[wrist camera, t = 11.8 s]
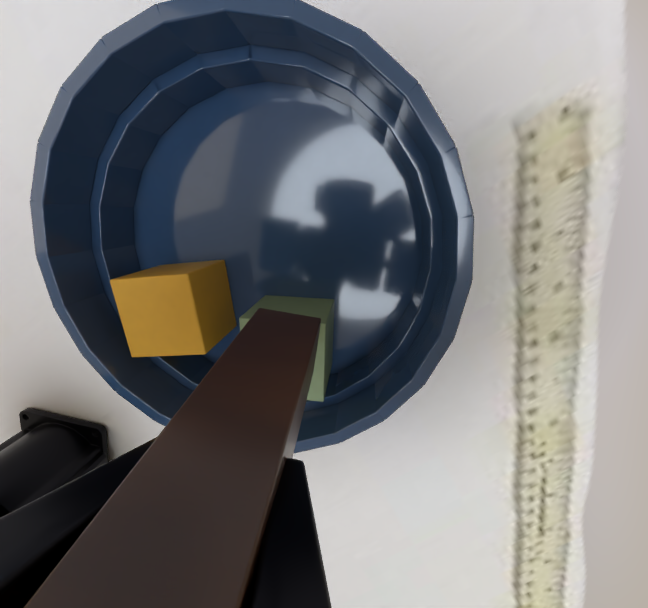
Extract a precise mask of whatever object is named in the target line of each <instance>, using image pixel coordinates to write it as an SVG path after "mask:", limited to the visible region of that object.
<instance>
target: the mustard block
mask: <svg viewBox="0 0 648 608" xmlns="http://www.w3.org/2000/svg"><path fill="white" fill-rule="evenodd" d="M110 284H111V287H112V291H113V294H114V298H115V301H116V305H117V308H118V312H119V315H120V318H121V322H122V325H123V329H124V332H125V336H126V339H127V343H128V346H129V350H130V353H131V356H132V357H154V356H178V355H203V354H206V353H207V352H209V351H210V350H211V349H212V348H213V347H214V346H215V345H216V344H217V343H218V342H219V341H221V340H222V339H223V338H224V337H225V336H226V335H227V334H228V333H229V332H230V331H231V330H233V329H234V328H235V327H236V325H237V324H236V319H235V314H234V308H233V303H232V298H231V292H230V287H229V282H228V276H227V271H226V266H225V261H224V260H213V261H202V262H190V263H179V264H167V265H159V266H156V267H152V268H149V269H145V270H142V271H138V272H135V273H132V274H128V275H125V276H121V277H118V278H114V279H111V280H110Z"/></svg>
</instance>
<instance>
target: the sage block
mask: <svg viewBox="0 0 648 608" xmlns="http://www.w3.org/2000/svg"><path fill="white" fill-rule="evenodd" d="M258 308H264V309H270V310H276V311H282V312H287V313H293V314H299V315H305V316H311V317H317V318H321V325H320V332H319V338H318V345H317V352H316V359H315V365H314V372H313V376H312V380H311V384H310V388H309V392H308V396H307V400H310V401H320V402H323V401H324V398H325V393H326V389H327V384H328V380H329V375H330V371H331V367H332V355H333V327H334V299H320V298H304V297H287V296H270V295H265V296H264V297H263V298H262V299H260V300H259V301H258V302H257V303H256V304H255V305H254V306H252V307H251V308H250V309H249V310H248V311H247V312H246V313H244V314H243V315H242V316H241V317H240V318H239V322H240V331H241V330H242V329H243V327H244V326H245V325H246V323H247V322H248V321H249V320H250V318H251V317H252V316H253V315H254V313H255V312H256V311H257V309H258Z"/></svg>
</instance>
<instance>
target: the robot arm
mask: <svg viewBox="0 0 648 608" xmlns="http://www.w3.org/2000/svg"><path fill="white" fill-rule="evenodd" d="M19 416H20V423H21V430H22V431H21V432H19V433H17V434H16V435H14V436H13V437H11V438H10V439H8V440H7V441H5V442H4V443H2V444H1V445H0V608H24V606H25V605H26V604H27V602H28V601H29V600H30V599H31V597H32V596H33V595H34V594H35V592H36V591H37V590H38V588H39V587H40V586H41V585H42V583H43V582H44V581H45V580H46V578H47V577H48V576H49V574H50V573H51V572H52V571H53V569H54V568H55V567H56V566H57V564H58V563H59V562H60V560H61V559H62V558H63V557H64V555H65V554H66V553H67V552H68V550H69V549H70V548H71V546H72V545H73V544H74V543H75V541H76V540H77V539H78V538H79V536H80V535H81V534H82V532H83V531H84V530H85V529H86V527H87V526H88V525H89V523H90V522H91V521H92V520H93V518H94V517H95V516H96V515H97V513H98V512H99V511H100V509H101V508H102V507H103V506H104V504H105V503H106V502H107V501H108V499H109V498H110V497H111V495H112V494H113V493H114V492H115V490H116V489H117V488H118V487H119V485H120V484H121V483H122V481H123V480H124V479H125V478H126V476H127V475H128V474H129V473H130V471H131V470H132V469H133V467H134V466H135V465H136V464H137V462H138V461H139V460H140V459H141V457H142V456H143V455H144V453H145V452H146V451H147V450H148V448H149V447H150V446H151V444H152V443H153V442H154V441H155V439H156V438H157V437H156V438H154V439H152V440H150V441H149V442H147V443H145V444H143V445H141V446H139V447H137V448H135V449H133V450H131V451H129V452H127V453H125V454H123V455H121V456H119V457H118V458H116V459H114V460H112V461H110V462H108V453H107V434H106V429H105V428H104V427H103V426H102V425H100V424H96V423H91V422H87V421H83V420H79V419H74V418H70V417H66V416H62V415H57V414H53V413H49V412H44V411H40V410H36V409H32V408H27V409H25V410H23V411H22V412H20V414H19ZM250 608H331V603H330V597H329V592H328V587H327V582H326V576H325V571H324V566H323V561H322V555H321V550H320V545H319V540H318V534H317V529H316V524H315V519H314V513H313V508H312V503H311V498H310V492H309V487H308V482H307V476H306V471H305V466H304V463H303V462H302V461H300V460H296V459H292V458H287V459H286V463H285V466H284V469H283V472H282V475H281V479H280V482H279V485H278V488H277V491H276V495H275V498H274V501H273V504H272V508H271V511H270V514H269V518H268V521H267V524H266V528H265V531H264V535H263V539H262V545H261V551H260V556H259V562H258V567H257V573H256V579H255V584H254V590H253V595H252V601H251V606H250Z"/></svg>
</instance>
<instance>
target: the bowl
mask: <svg viewBox="0 0 648 608" xmlns="http://www.w3.org/2000/svg"><path fill="white" fill-rule="evenodd" d="M38 142H39V143H38V144H37V151H36V159H35V166H34V174H33V182H32V189H31V197H30V199H31V200H30V206H31V215H32V224H33V233H34V243H35V252H36V256H37V261H38V264H39V266H40V269H41V272H42V275H43V278H44V281H45V284H46V287H47V290H48V293H49V296H50V298H51V301H52V304H53V307H54V308H55V311H56V312H57V314H58V316H59V317H60V319H61V321H62V322H63V324H64V326H65V328H66V329H67V331H68V333H69V334H70V336H71V338H72V339H73V341H74V343H75V344H76V346H77V348H78V349H79V351H80V353H82V355H83V356H84V358H85V359H86V360H87V361H88V362H89V363H90V364H91V365H92V366H93V368H94V369H95V370H96V371H97V372H98V373H99V374H100V375H101V376H102V377H103V379H104V380H105V381H106V382H107V383H108V384H109V385H110V386H111V387H112V388H113V390H114V391H116V392H117V393H118V394H119V395H120V396H122V397H123V398H124V399H126V400H127V401H129V402H130V403H131V404H133V405H134V406H135V407H137V408H138V409H139V410H141V411H142V412H143V413H145V414H146V415H147V416H149V417H150V418H151V419H153V420H154V421H156V422H158V423H160V424H162V425H164V426H166V425H167V424H168V423H169V422H170V420H171V419H172V418H173V416H174V415H175V414H176V413H177V411H178V410H179V409H180V408H181V406H182V405H183V404H184V402H185V401H186V400H187V399H188V397H189V396H190V395H191V394H192V392H193V391H194V390H195V388H196V387H197V386H198V385H199V383H200V382H201V381H202V380H203V378H204V377H205V376H206V374H207V373H208V372H209V371H210V369H211V368H212V367H213V366H214V364H215V363H216V362H217V360H218V359H219V358H220V357H221V355H222V354H223V353H224V351H225V350H226V349H227V348H228V346H229V345H230V344H231V343H232V341H233V340H234V339H235V337H236V336H237V335H238V334H239V332H240V322H239V318H240V317H241V316H242V315H243V314H244V313H246V312H247V311H248V310H249V309H250V308H251V307H252V306H254V305H255V304H256V303H257V302H258V301H259V300H260V299H262V298H263V297H264V296H265V295H270V296H287V297H304V298H320V299H334V327H333V355H332V367H331V371H330V375H329V380H328V384H327V389H326V393H325V398H324V401H323V402H320V401H310V400H306V404H305V408H304V413H303V417H302V421H301V425H300V429H299V433H298V437H297V441H296V445H295V449H294V453H298V452H302V451H307V450H311V449H316V448H320V447H325V446H329V445H333V444H338V443H340V442H343V441H345V440H347V439H349V438H351V437H353V436H355V435H357V434H359V433H361V432H363V431H365V430H367V429H369V428H371V427H373V426H375V425H377V424H379V423H381V422H383V421H384V420H386V419H387V418H388V417H389V416H390V415H391V414H392V413H394V412H395V411H396V410H397V409H398V408H399V407H400V406H401V405H403V404H404V403H405V402H406V401H407V400H408V399H409V398H410V397H412V396H413V395H414V394H415V393H416V392H417V391H418V390H419V389H420V388H422V387H423V385H425V383H426V382H427V380H428V378H429V377H430V375H431V374H432V372H433V371H434V369H435V368H436V366H437V365H438V363H439V361H440V360H441V358H442V357H443V355H444V354H445V352H446V351H447V349H448V348H449V346H450V344H451V343H452V341H453V340H454V339H453V338H455V335H456V332H457V328H458V325H459V322H460V319H461V315H462V312H463V309H464V306H465V303H466V299H467V296H468V293H469V290H470V286H471V283H472V272H473V235H474V216H473V210H472V206H471V202H470V198H469V194H468V190H467V186H466V182H465V178H464V174H463V171H462V167H461V163H460V159H459V155H458V151H457V148H455V147H456V146H455V143H454V142H453V140H452V138H451V136H450V135H449V133H448V131H447V130H446V128H445V126H444V124H443V123H442V121H441V119H440V118H439V116H438V114H437V112H436V111H435V109H434V107H433V106H432V104H431V102H430V101H429V99H428V97H427V95H426V94H425V92H424V90H423V89H422V87H421V85H420V84H418V81H417V80H416V79H415V78H414V77H413V76H412V75H411V74H409V73H408V72H407V71H406V70H405V69H404V68H403V67H402V66H401V65H400V64H399V63H398V62H397V61H396V60H395V59H393V58H392V57H391V56H390V55H389V54H388V53H387V52H386V51H385V50H384V49H383V48H382V47H381V46H380V45H379V44H377V43H376V42H375V41H374V40H373V39H372V38H371V37H370V36H369V35H368V34H367V33H366V32H364V31H362V30H361V29H359V28H357V27H355V26H353V25H351V24H349V23H347V22H345V21H342V20H340V19H338V18H336V17H334V16H332V15H330V14H328V13H326V12H324V11H322V10H320V9H318V8H315V7H313V6H311V5H309V4H307V3H305V2H303V1H301V0H171V1H166V2H162V3H158V5H157V4H155V5H153V6H151V7H150V8H148V9H147V10H145V11H143V12H142V13H140V14H138V15H137V16H135V17H134V18H132V19H130V20H129V21H127V22H125V23H124V24H122V25H121V26H119V27H117V28H116V29H114V30H112V31H111V32H109V33H108V34H106V35H104V36H103V37H102V39H100V40H99V41H98V42H97V43H96V45H95V46H94V47H93V48H92V49H91V51H90V52H89V53H88V54H87V55H86V57H85V58H84V59H83V60H82V61H81V63H80V64H79V65H78V66H77V67H76V69H75V70H74V71H73V72H72V73H71V75H70V76H69V77H68V78H67V80H66V81H65V82H64V83H63V84H62V87H60V89H59V92H58V94H57V97H56V99H55V101H54V104H53V106H52V109H51V111H50V113H49V116H48V118H47V120H46V123H45V125H44V128H43V130H42V132H41V135H40V137H39V140H38ZM213 260H224V261H225V266H226V271H227V276H228V282H229V287H230V292H231V298H232V303H233V308H234V314H235V319H236V324H237V325H236V327H235V328H234V329H233V330H231V331H230V332H229V333H228V334H227V335H226V336H225V337H224V338H223V339H222V340H221V341H219V342H218V343H217V344H216V345H215V346H214V347H213V348H212V349H211V350H210V351H209V352H207V353H206V354H203V355H178V356H154V357H132V356H131V353H130V350H129V346H128V343H127V339H126V336H125V332H124V329H123V325H122V322H121V318H120V315H119V312H118V308H117V305H116V301H115V298H114V294H113V291H112V287H111V284H110V280H111V279H114V278H118V277H121V276H125V275H128V274H132V273H135V272H138V271H142V270H145V269H149V268H152V267H156V266H159V265H167V264H179V263H190V262H202V261H213Z"/></svg>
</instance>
